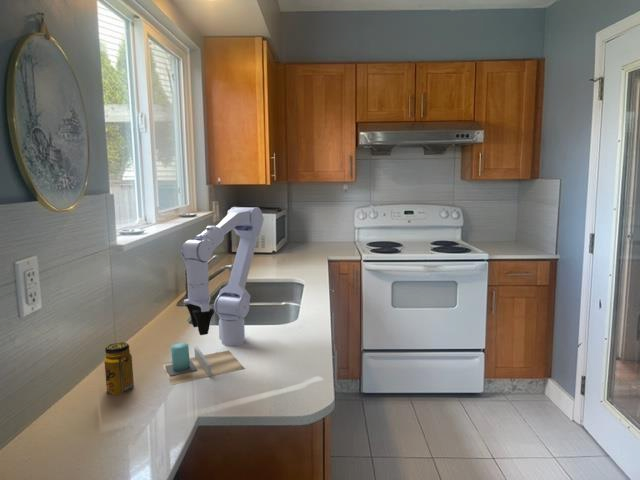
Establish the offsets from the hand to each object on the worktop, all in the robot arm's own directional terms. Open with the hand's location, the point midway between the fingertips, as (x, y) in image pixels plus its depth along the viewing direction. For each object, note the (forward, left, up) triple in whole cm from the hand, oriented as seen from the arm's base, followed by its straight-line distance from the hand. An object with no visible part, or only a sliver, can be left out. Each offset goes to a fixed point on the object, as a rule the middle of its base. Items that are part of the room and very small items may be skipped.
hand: (200, 330), depth 124 cm
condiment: (+8, -21, -10) cm, 24 cm away
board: (+5, -1, -9) cm, 11 cm away
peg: (+4, -6, -8) cm, 11 cm away
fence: (+5, -1, -8) cm, 10 cm away
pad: (+4, -7, -8) cm, 11 cm away
